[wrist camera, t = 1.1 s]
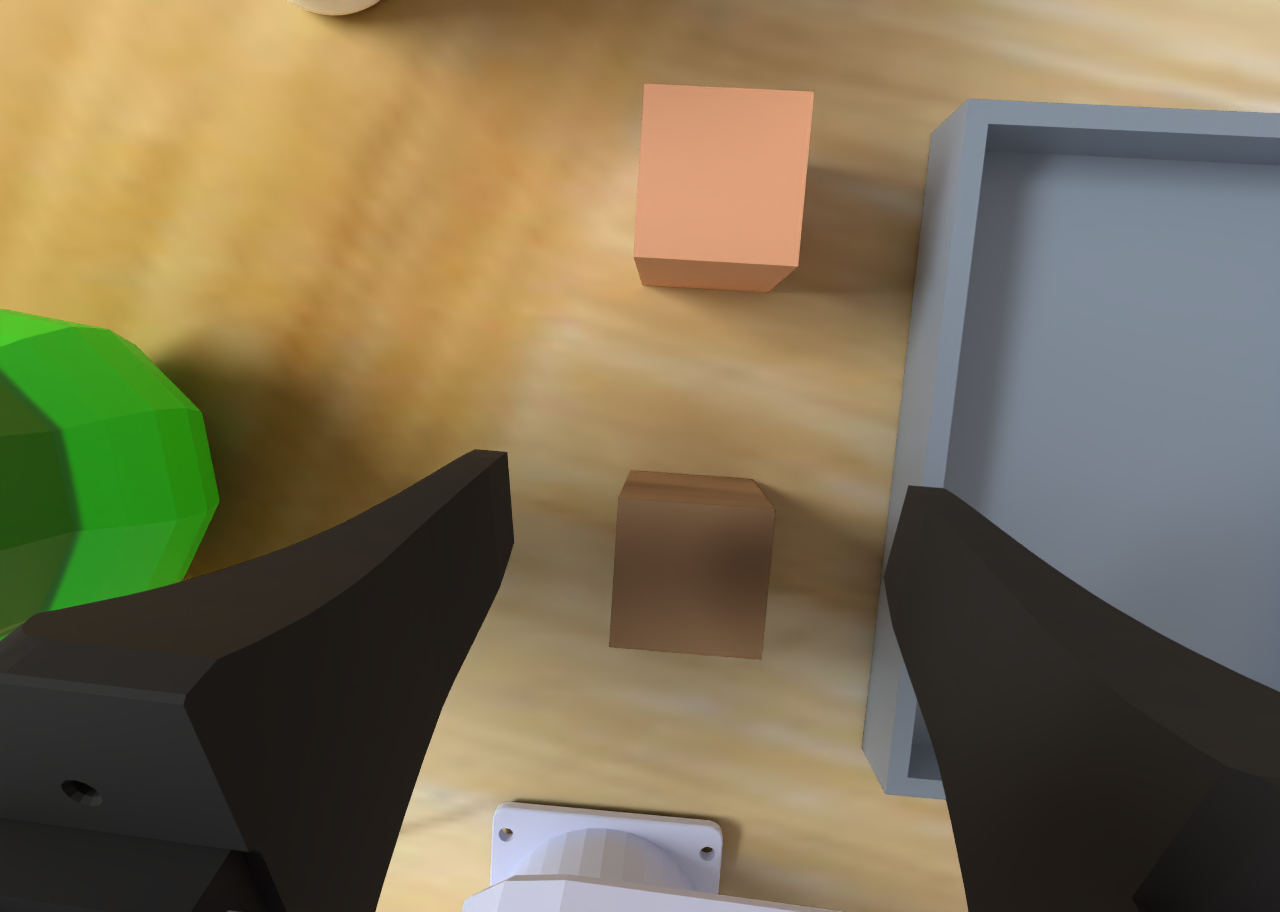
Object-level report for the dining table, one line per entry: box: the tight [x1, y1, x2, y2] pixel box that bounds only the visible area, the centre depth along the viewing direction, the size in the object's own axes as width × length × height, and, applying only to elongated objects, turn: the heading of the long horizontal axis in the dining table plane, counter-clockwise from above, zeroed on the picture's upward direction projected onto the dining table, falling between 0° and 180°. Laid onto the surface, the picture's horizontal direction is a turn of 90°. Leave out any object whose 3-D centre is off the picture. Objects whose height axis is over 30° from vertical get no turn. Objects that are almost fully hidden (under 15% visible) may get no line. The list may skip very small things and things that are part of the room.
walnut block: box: [609, 470, 775, 660], centre depth 19 cm, size 4×4×5 cm
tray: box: [862, 99, 1280, 800], centre depth 20 cm, size 20×14×2 cm
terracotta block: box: [634, 84, 814, 292], centre depth 18 cm, size 4×4×5 cm
